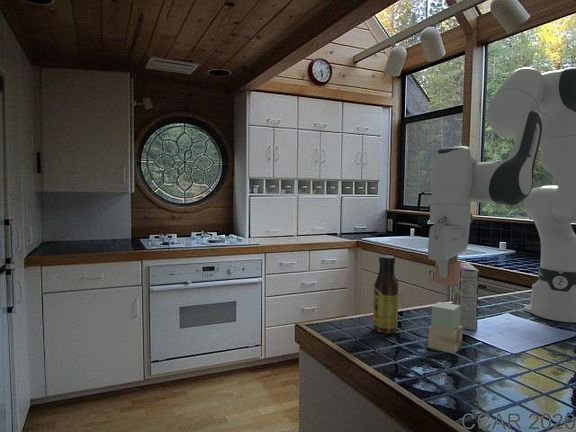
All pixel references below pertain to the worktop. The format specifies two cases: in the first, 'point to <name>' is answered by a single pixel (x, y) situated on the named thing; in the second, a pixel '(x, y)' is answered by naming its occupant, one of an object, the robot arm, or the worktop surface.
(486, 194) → the robot arm
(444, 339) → the beige block
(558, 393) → the worktop surface
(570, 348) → the worktop surface
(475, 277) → the candy bar box
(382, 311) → the sauce bottle
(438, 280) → the terracotta cube
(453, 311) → the sage cube
